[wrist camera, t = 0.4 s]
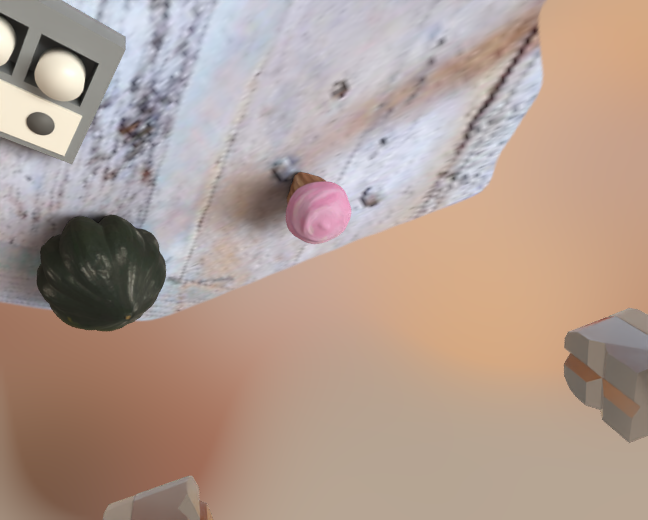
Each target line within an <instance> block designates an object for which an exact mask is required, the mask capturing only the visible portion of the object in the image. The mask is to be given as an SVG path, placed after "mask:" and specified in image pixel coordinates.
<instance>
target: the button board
mask: <svg viewBox="0 0 648 520" xmlns="http://www.w3.org/2000/svg"><path fill="white" fill-rule="evenodd" d="M0 15H2V16H3V17H4V18H5V19H7V20H8V22H9V23H10V24H11V25H12V27H13V29H14V31H15V33H16V37H17V42H16V46H15V48H14V50H13V52H12V54H11V56H10V58H9V60H8V61H7V62H6V63H5V64H4V65H2V66H0V137H3V138H5V139H8V140H10V141H13V142H16V143H18V144H21V145H23V146H26V147H29V148H31V149H34V150H36V151H39V152H42V153H44V154H47V155H49V156H52V157H55V158H57V159H60V160H62V161H65V162H68V163H70V164H72V163H73V161H74V159H75V157H76V155H77V153H78V150H79V148H80V146H81V144H82V142H83V140H84V138H85V135H86V133H87V131H88V129H89V127H90V125H91V122H92V120H93V118H94V116H95V114H96V112H97V110H98V107H99V105H100V103H101V101H102V99H103V97H104V94H105V92H106V90H107V88H108V86H109V84H110V82H111V79H112V77H113V75H114V73H115V71H116V69H117V67H118V64H119V62H120V60H121V58H122V56H123V54H124V51H125V42H126V37H125V36H123V35H122V34H120V33H118V32H116V31H114V30H113V29H111V28H109V27H107V26H106V25H104V24H102V23H100V22H99V21H97V20H95V19H93V18H92V17H90V16H88V15H86V14H85V13H83V12H81V11H79V10H78V9H76V8H74V7H72V6H71V5H69V4H67V3H65V2H64V1H62V0H0ZM54 47H61V48H65V49H68V50H70V51H72V52H74V53H75V54H76V55H77V56H78V57H79V58H80V59H81V60H82V62H83V64H84V66H85V69H86V77H85V82H84V88H83V91H82V93H81V95H80V96H79V97H77V98H76V99H74V100H71V101H58V100H54V99H52V98H50V97H48V96H47V95H45V94H44V93H43V92H42V91H41V90H40V89H39V87H38V86H37V84H36V81H35V76H34V74H35V69H36V66H37V64H38V61H39V59H40V56H41V55H42V53H43V52H44V51H46V50H47V49H50V48H54Z"/></svg>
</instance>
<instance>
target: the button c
mask: <svg viewBox="0 0 648 520" xmlns="http://www.w3.org/2000/svg"><path fill="white" fill-rule="evenodd" d="M34 76H35V81H36V84H37V86H38V87H39V89H40V90H41V91H42V92H43V93H44V94H45V95H47V96H48V97H50V98H52V99H54V100H58V101H71V100H74V99H76V98H77V97H79V96H80V95H81V93H82V91H83V88H84V82H85V77H86V69H85V66H84V64H83V62H82V60H81V59H80V58H79V57H78V56H77V55H76V54H75V53H74V52H72V51H70V50H68V49H65V48H61V47H54V48H50V49H47V50H46V51H44V52H43V53H42V55H41V56H40V59H39V61H38V64H37V66H36V69H35V74H34Z"/></svg>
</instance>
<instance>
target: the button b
mask: <svg viewBox="0 0 648 520" xmlns="http://www.w3.org/2000/svg"><path fill="white" fill-rule="evenodd" d="M16 42H17V37H16V33H15V31H14V29H13V27H12V25H11V24H10V23H9V22H8V20H7V19H5V18H4V17H3V16H2V15H0V66H2V65H4V64H5V63H6V62H7V61H8V60H9V58H10V56H11V54H12V52H13V50H14V48H15V46H16Z"/></svg>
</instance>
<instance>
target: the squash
mask: <svg viewBox="0 0 648 520" xmlns="http://www.w3.org/2000/svg"><path fill="white" fill-rule="evenodd" d="M40 254H41V265H40V266H39V268H38V270H37V286H38V289H39V291H40V293H41V294H42V296H43V297H44V299H45V300H46V301H47V302H48V303H49V304H50V307H51V309H52V310H53V312H54V313H55V314H56V315H57V316H58V317H59V318H60V319H61V320H62V321H63V322H65V323H66V324H68V325H70V326H72V327H75V328H80V329H85V330H98V331H113V330H116V329H120V328H122V327H124V326H125V325H127V324H129V323H132V322H134V321H135V320H137V319H138V318H140V317H141V316H142V314H143V313H144V312H145V311H147V310H148V309H149V308H150V307H151V306H152V305H153V304H154V302H155V301H156V299H157V297H158V294H159V292H160V291H161V289H162V287H163V284H164V281H165V277H166V265H165V260H164V258H163V256H162V255H161V254H160V252H159V244H158V242H157V240H156V238H155V237H154V235H153V234H152V233H150V232H148V231H146V230H143V229H138V228H135V227H134V226H133V225H132V224H131V223H129V222H128V221H127V220H125V219H123V218H121V217H119V216H116V215H109V216H106V217H104V218H103V219H102V220H101V221H100V222H99V223H97V222H95V221H94V220H92V219H90V218H88V217H84V216H80V217H75V218H73V219H72V220H71V221H69V222H68V224H67V225H66V227H65V229H64V230H63V232H62V235H57V236H54V237H52V238H51V239H50V240H48V241H47V243H46V244H44V245H43V246H42V247H41V251H40Z"/></svg>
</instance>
